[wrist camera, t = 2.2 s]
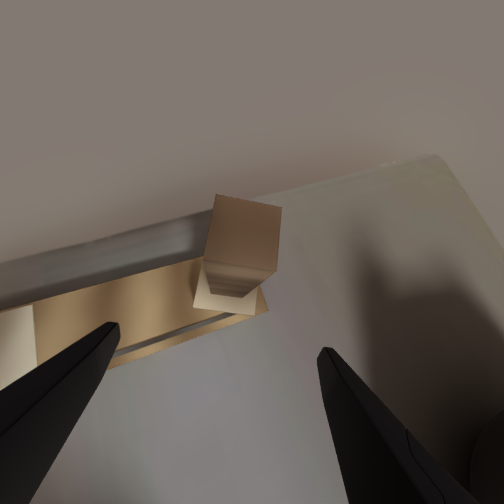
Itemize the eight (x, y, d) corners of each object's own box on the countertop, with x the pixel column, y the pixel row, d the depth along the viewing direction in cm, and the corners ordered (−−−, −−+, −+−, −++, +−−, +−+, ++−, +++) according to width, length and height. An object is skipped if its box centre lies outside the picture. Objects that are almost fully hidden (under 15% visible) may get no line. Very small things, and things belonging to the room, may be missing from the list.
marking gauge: (249, 315, 19) (307, 310, 7) (195, 308, 19) (156, 289, 6) (257, 254, 21) (312, 168, 9) (208, 246, 21) (196, 142, 8)
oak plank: (244, 247, 22) (245, 244, 21) (265, 311, 21) (268, 310, 20) (-69, 334, 16) (-93, 335, 15) (-72, 434, 14) (-99, 445, 13)
